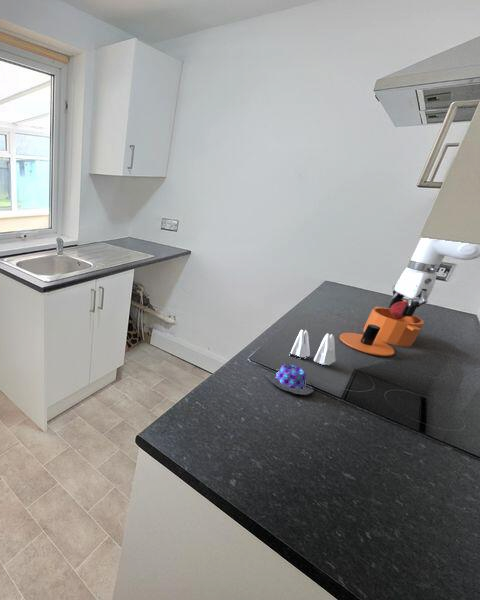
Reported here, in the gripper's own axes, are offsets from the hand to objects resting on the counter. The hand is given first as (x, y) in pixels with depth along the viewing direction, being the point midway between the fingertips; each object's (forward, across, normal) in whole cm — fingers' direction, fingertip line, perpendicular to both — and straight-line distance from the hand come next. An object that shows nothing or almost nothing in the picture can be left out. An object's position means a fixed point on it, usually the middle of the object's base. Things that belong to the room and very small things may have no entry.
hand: (399, 311), depth 119 cm
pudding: (+11, -44, +53) cm, 70 cm away
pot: (+11, 0, 0) cm, 11 cm away
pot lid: (+10, -11, +14) cm, 21 cm away
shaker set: (+11, -28, +40) cm, 50 cm away
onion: (+3, 0, 0) cm, 3 cm away
